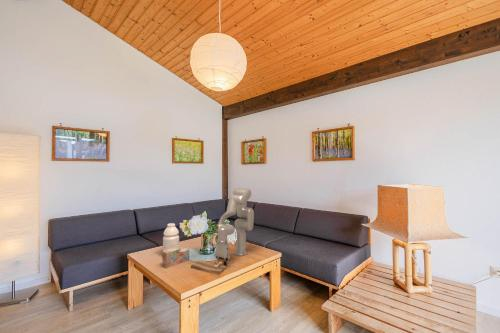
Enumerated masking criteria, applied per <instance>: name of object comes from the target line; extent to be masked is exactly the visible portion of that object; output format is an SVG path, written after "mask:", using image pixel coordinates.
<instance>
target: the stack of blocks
mask: <svg viewBox="0 0 500 333" xmlns="http://www.w3.org/2000/svg"><path fill="white" fill-rule="evenodd" d="M161 255H162V258H161V259H162V260H161V261H162V263H161V264H162V265H161V266H162V267H163V268H165V269H168V268H171V267H174V266H177V265H180V264H183V263H186V262H188V261H190V248H186V247H184V248H180V247H179V248H177V247H175V248H171V249H168V250H165V251H163V250H162V252H161Z"/></svg>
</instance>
